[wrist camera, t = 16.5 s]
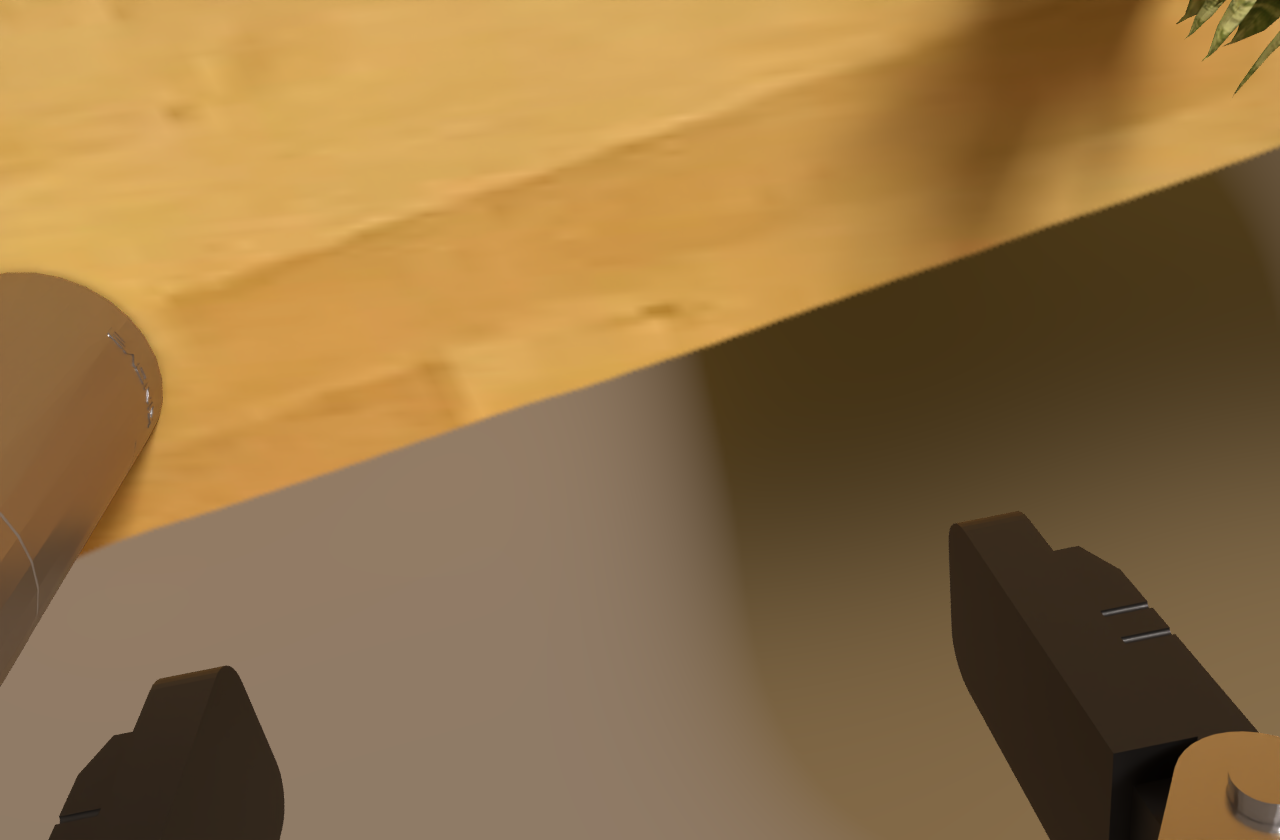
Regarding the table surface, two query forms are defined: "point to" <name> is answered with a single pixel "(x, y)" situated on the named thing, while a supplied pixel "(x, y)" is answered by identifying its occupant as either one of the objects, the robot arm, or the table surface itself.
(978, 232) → the table surface
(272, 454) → the table surface
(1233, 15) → the house plant
